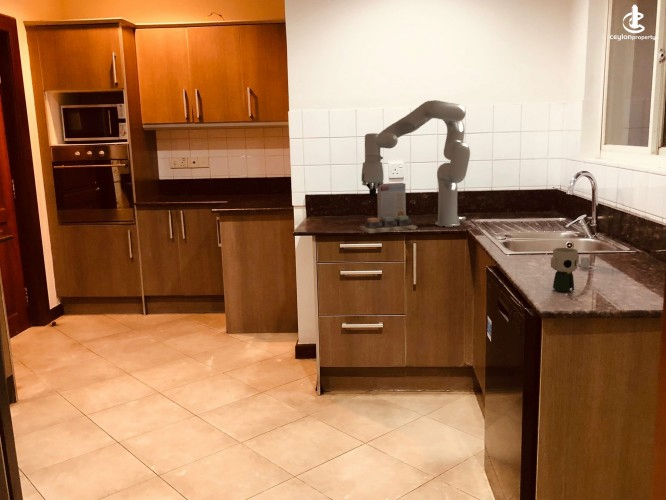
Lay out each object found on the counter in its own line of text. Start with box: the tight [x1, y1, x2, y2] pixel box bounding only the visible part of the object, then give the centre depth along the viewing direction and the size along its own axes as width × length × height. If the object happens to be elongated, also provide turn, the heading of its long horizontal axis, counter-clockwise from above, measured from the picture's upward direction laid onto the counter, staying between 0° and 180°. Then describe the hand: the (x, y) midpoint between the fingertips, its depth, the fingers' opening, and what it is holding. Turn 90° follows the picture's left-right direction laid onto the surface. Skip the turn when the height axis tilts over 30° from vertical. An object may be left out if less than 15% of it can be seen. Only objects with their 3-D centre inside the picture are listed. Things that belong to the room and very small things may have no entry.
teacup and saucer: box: [576, 256, 597, 272], centre depth 223 cm, size 9×8×4 cm
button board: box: [359, 218, 418, 234], centre depth 312 cm, size 26×12×4 cm, turn 110°
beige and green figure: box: [550, 247, 580, 293], centre depth 193 cm, size 11×7×13 cm, turn 114°
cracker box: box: [376, 182, 407, 221], centre depth 330 cm, size 14×6×21 cm, turn 105°
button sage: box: [397, 215, 410, 220], centre depth 314 cm, size 4×4×3 cm
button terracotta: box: [367, 217, 379, 223], centre depth 309 cm, size 4×4×3 cm
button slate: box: [382, 217, 394, 221], centre depth 312 cm, size 4×4×3 cm
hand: (372, 197), depth 307 cm, fingers closed
